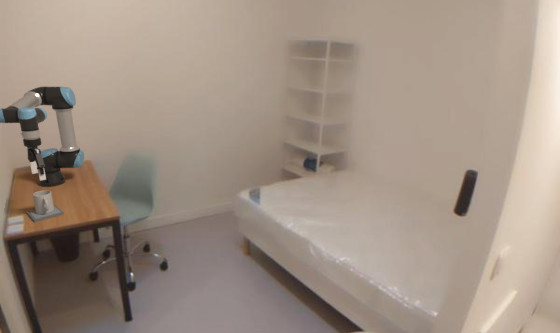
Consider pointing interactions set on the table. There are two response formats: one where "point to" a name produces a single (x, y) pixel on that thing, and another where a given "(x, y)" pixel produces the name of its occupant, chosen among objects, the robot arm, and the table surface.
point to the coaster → (39, 217)
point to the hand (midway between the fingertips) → (38, 176)
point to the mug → (43, 202)
